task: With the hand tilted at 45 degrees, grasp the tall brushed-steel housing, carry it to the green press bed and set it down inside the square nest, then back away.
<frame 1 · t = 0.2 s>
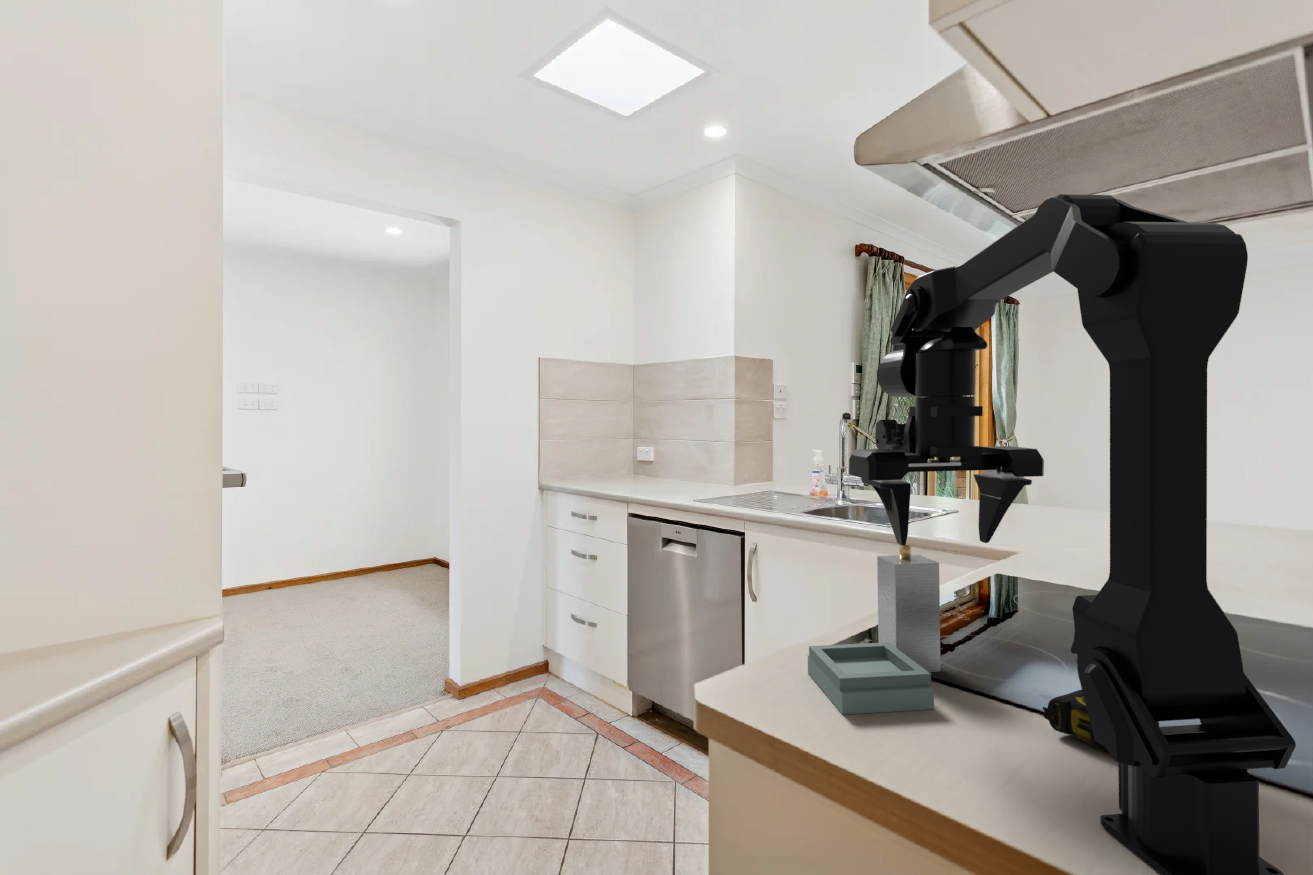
hand: (943, 543, 67), 14 cm above the counter, fingers open, 9 cm apart
tape measure: (1097, 742, 54), on the counter
press bed: (866, 690, 65), on the counter
housing: (908, 665, 71), on the counter
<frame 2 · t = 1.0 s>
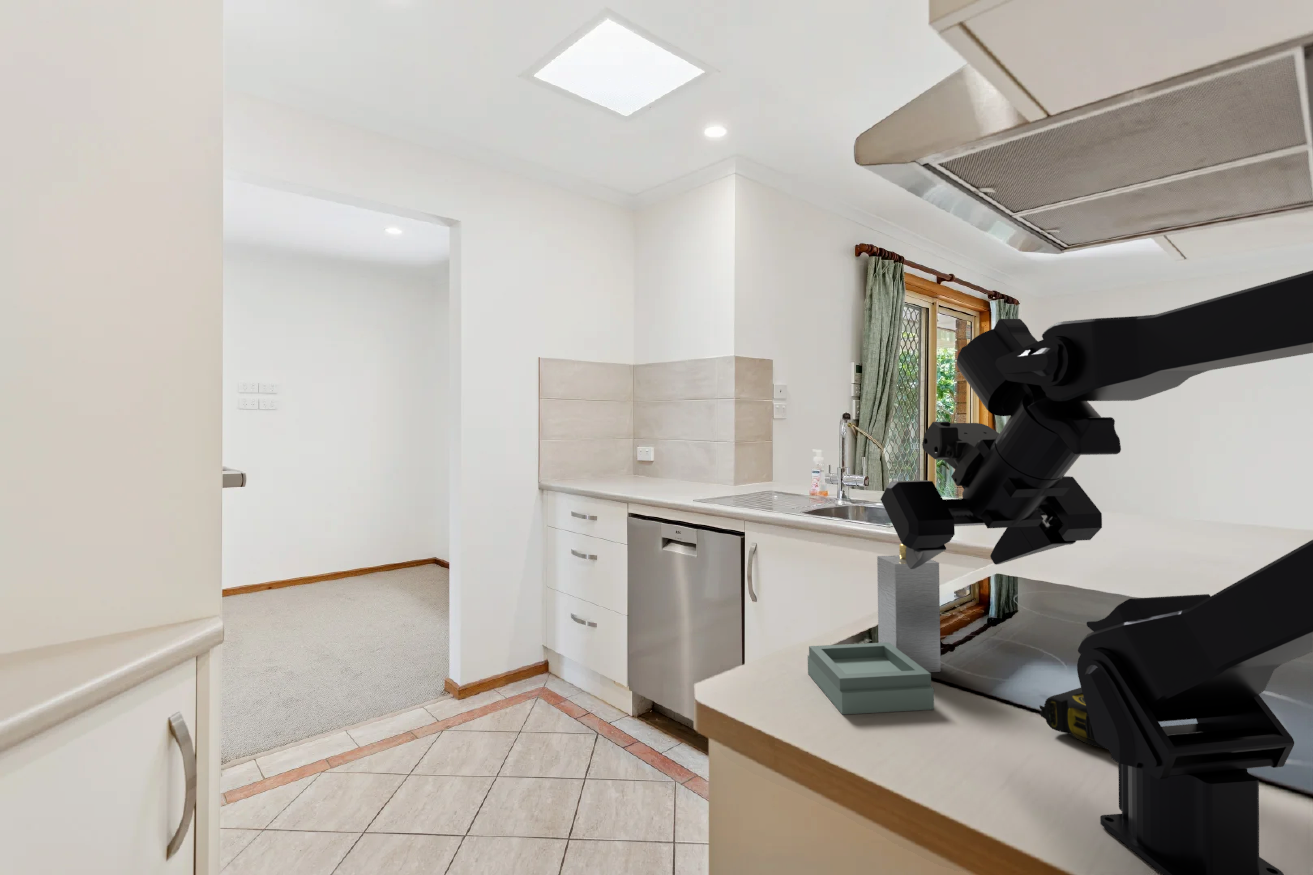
hand: (952, 562, 63), 13 cm above the counter, fingers open, 9 cm apart
nothing on the counter moved.
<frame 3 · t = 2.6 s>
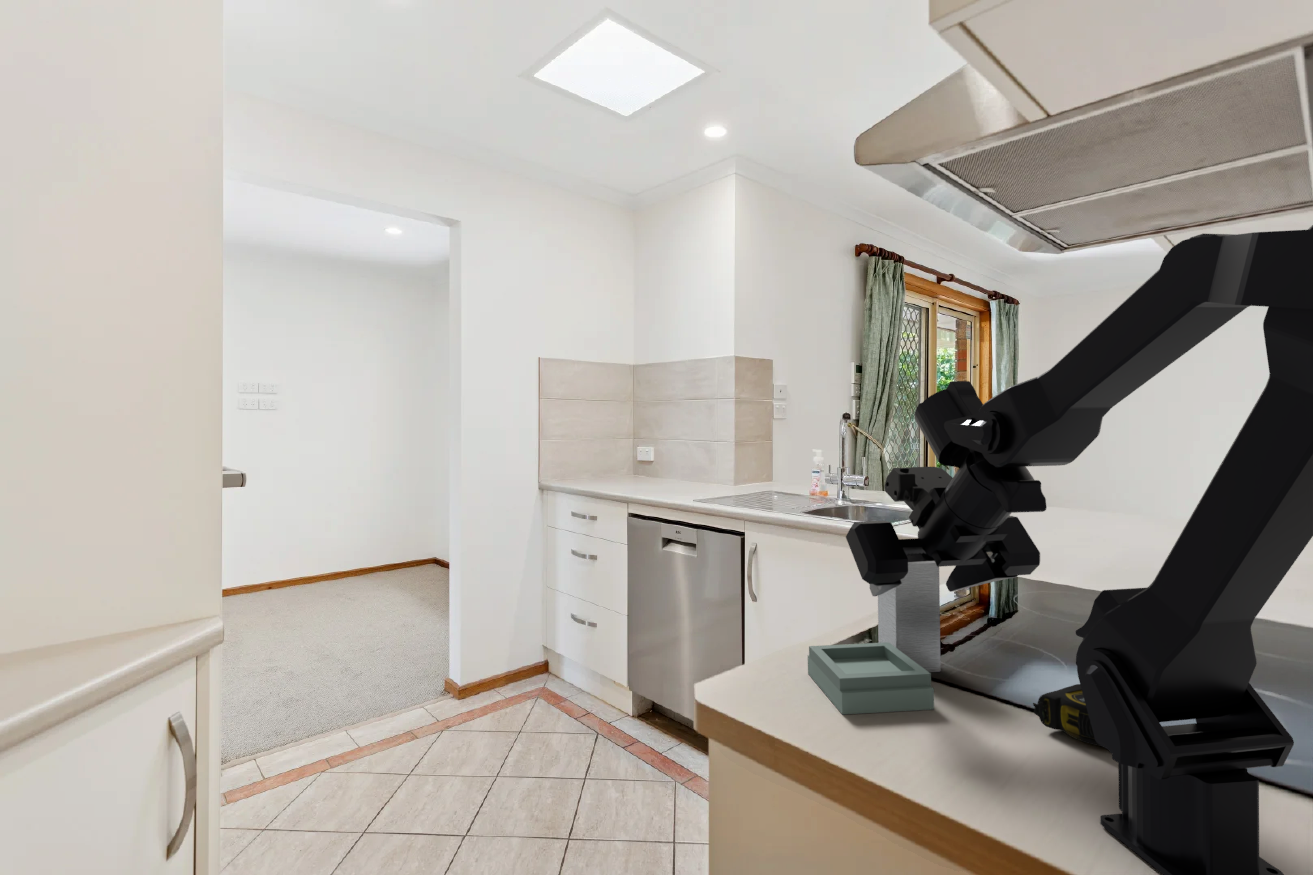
hand: (911, 590, 70), 9 cm above the counter, fingers open, 9 cm apart
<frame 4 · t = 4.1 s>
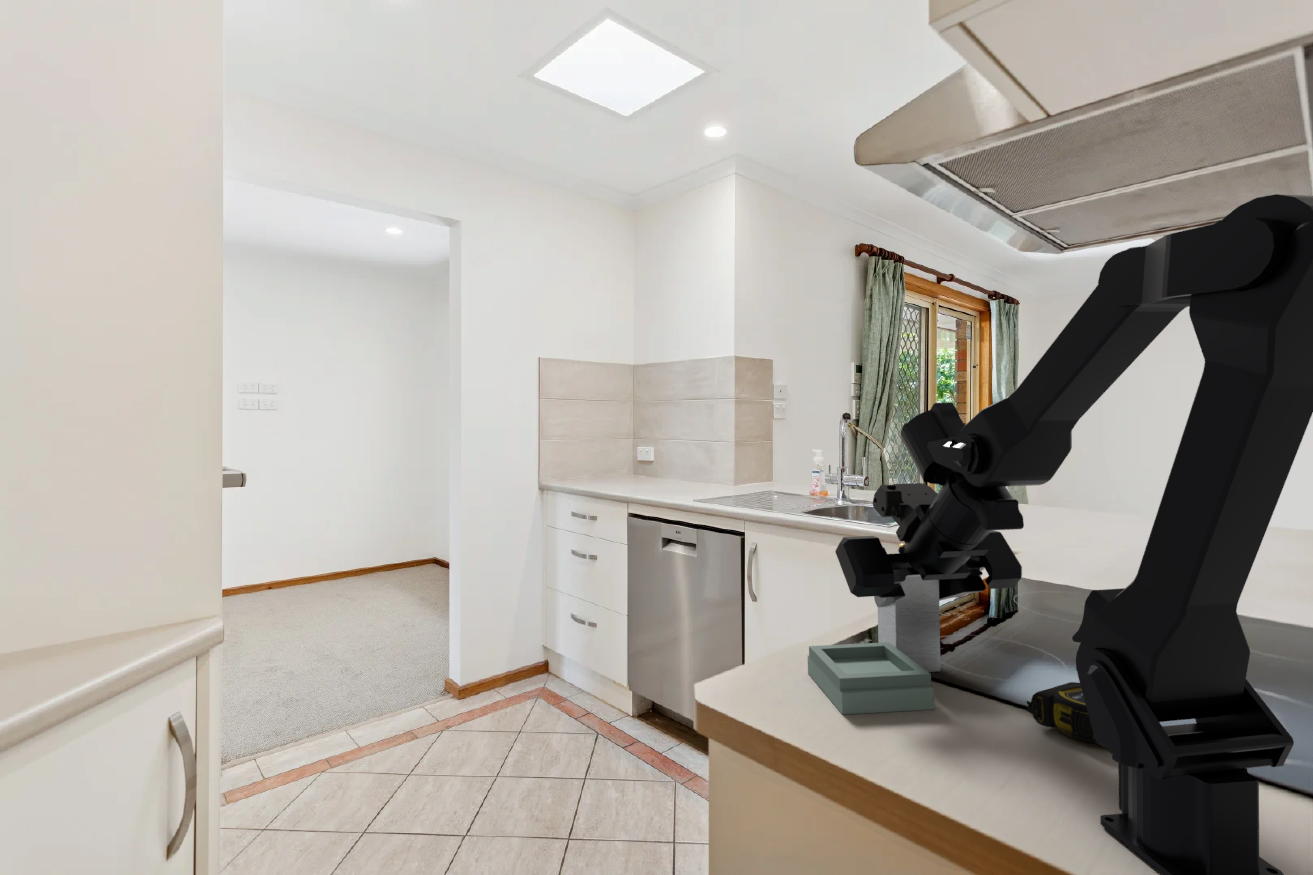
hand: (899, 602, 73), 7 cm above the counter, fingers closed on housing, 5 cm apart
housing: (908, 664, 71), on the counter, touching gripper
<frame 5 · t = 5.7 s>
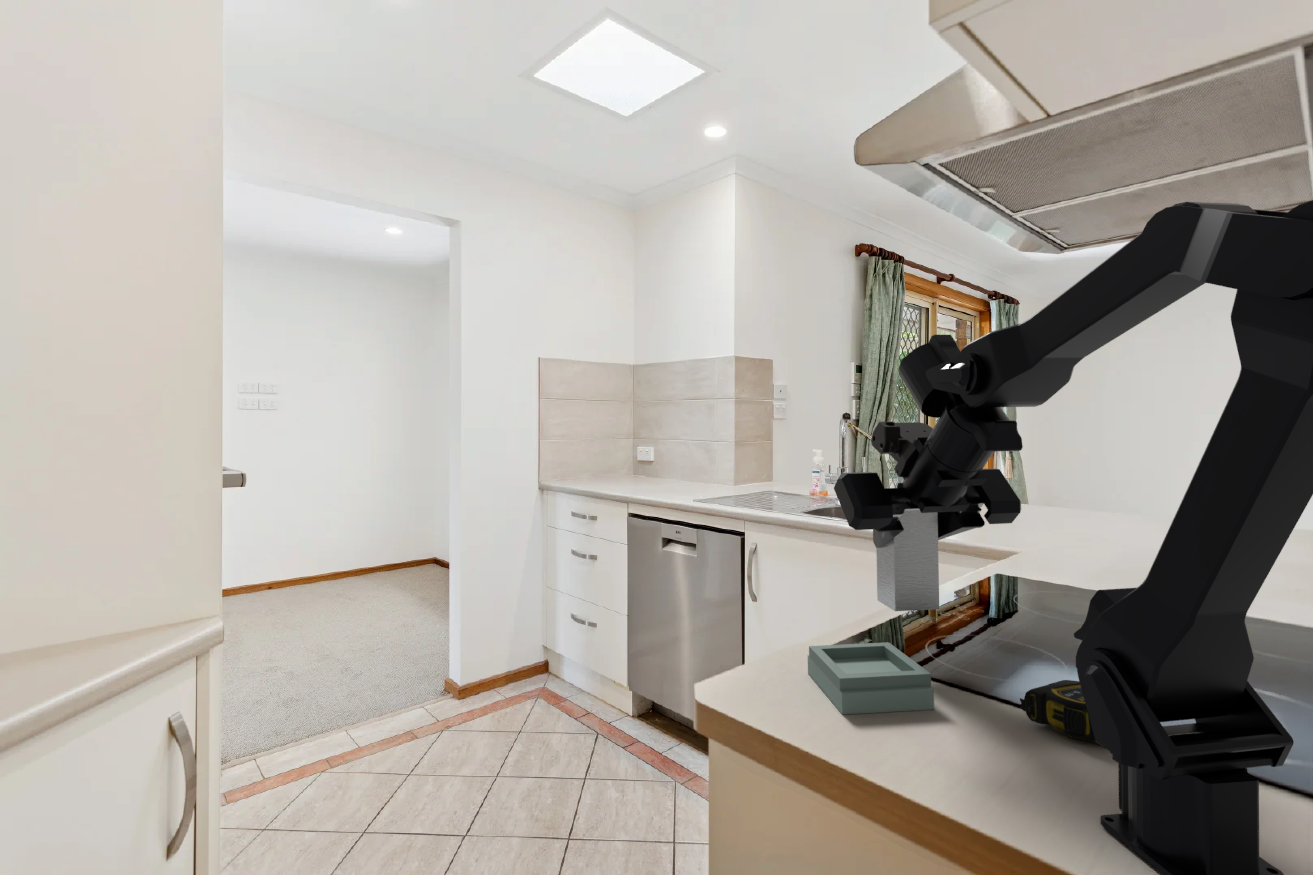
hand: (898, 543, 73), 13 cm above the counter, fingers closed on housing, 5 cm apart
housing: (907, 604, 71), point 7 cm above the counter, touching gripper
when the fingers open (10 cm above the counter, at t = 7.8 s): housing stays where it is, resting on press bed.
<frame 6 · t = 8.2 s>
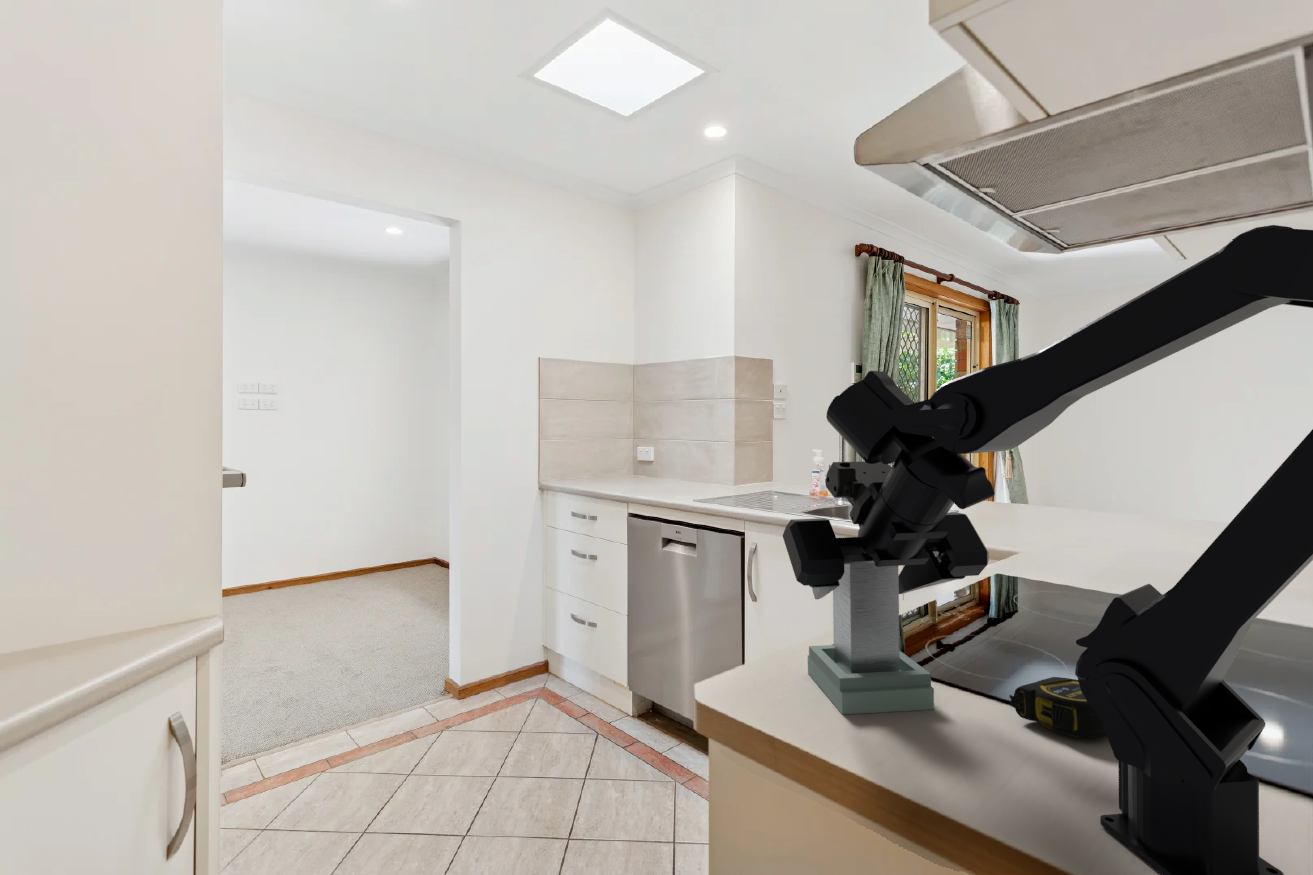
hand: (856, 592, 66), 10 cm above the counter, fingers open, 9 cm apart
housing: (865, 670, 65), point 2 cm above the counter, touching press bed
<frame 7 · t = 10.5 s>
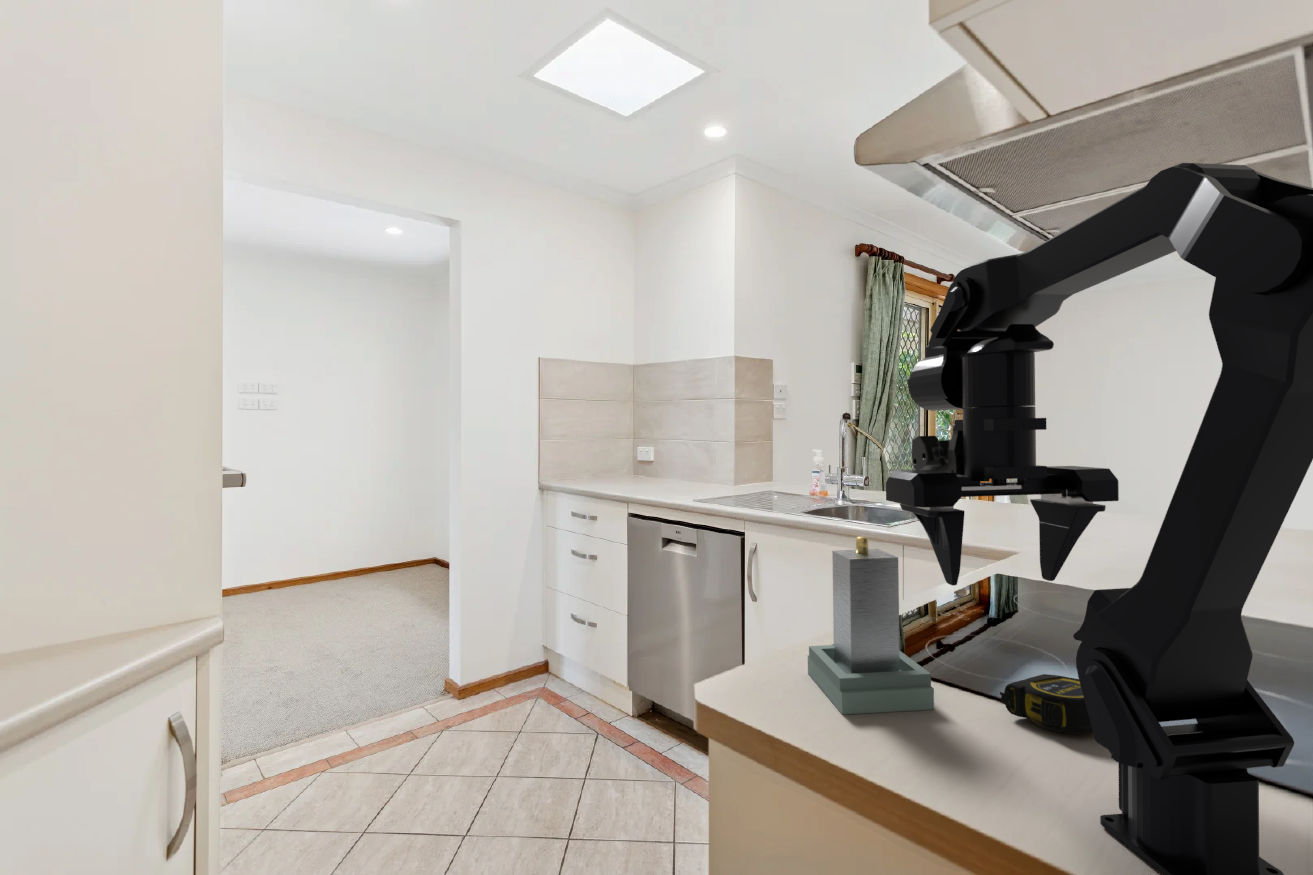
hand: (1000, 582, 56), 13 cm above the counter, fingers open, 9 cm apart
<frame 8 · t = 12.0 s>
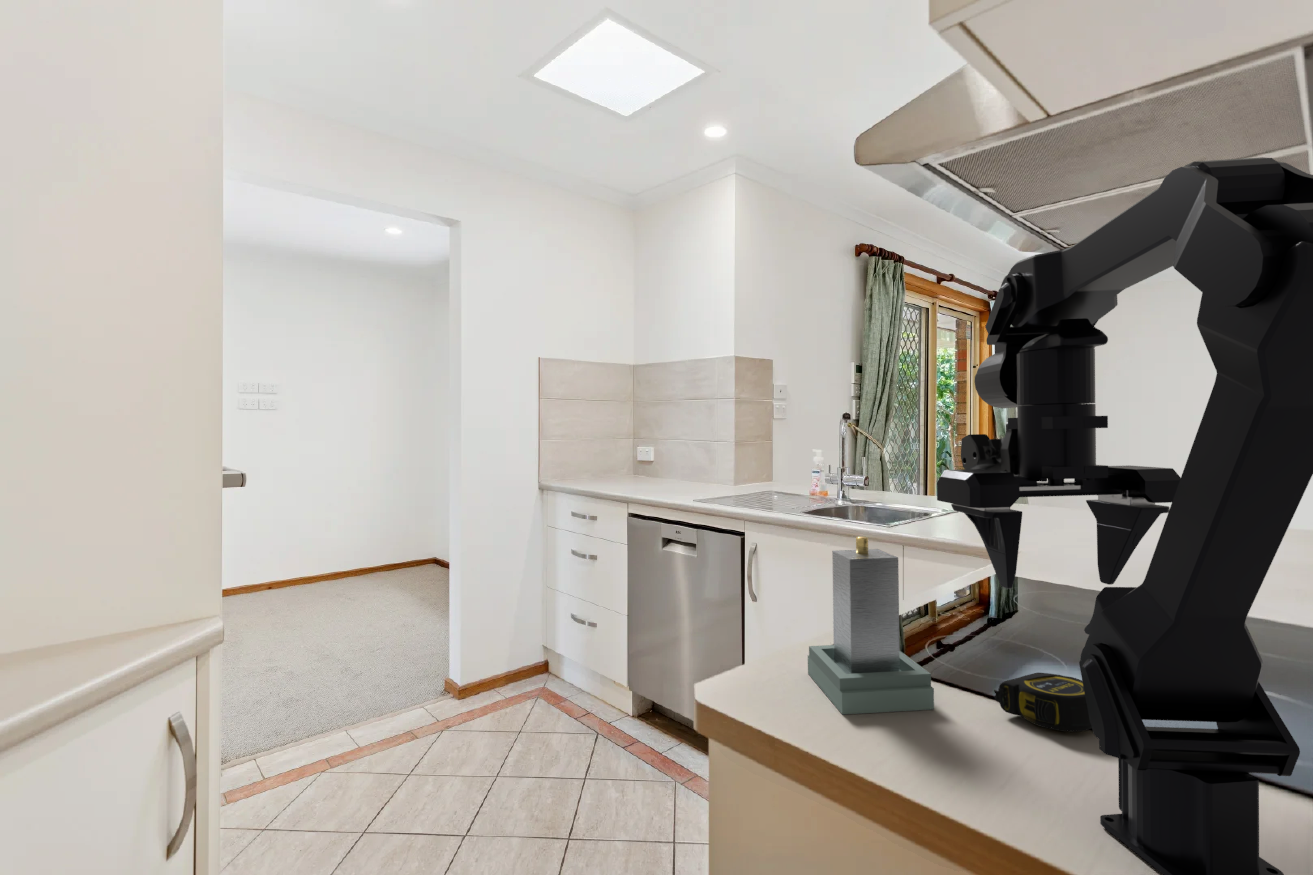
hand: (1056, 585, 54), 13 cm above the counter, fingers open, 9 cm apart
at the end: housing 0.1 cm off-centre on the press bed, point 2.0 cm above the press bed's base; housing tilted 0°; the gripper is holding nothing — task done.
